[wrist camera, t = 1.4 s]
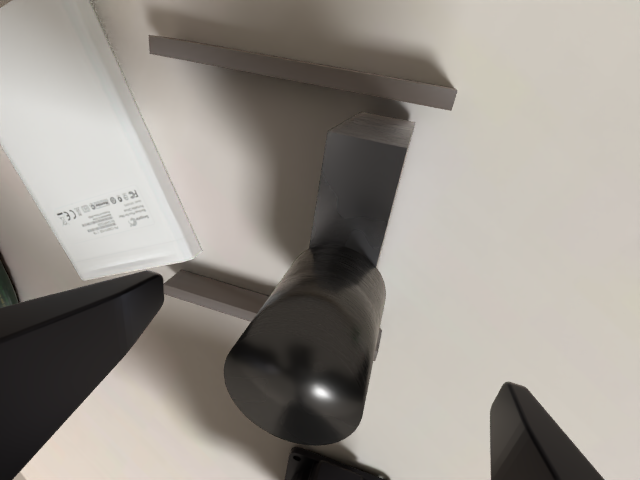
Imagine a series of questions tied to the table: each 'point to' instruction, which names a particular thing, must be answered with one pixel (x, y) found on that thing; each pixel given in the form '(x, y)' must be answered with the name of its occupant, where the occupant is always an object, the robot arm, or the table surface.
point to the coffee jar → (6, 289)
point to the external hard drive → (85, 143)
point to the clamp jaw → (326, 296)
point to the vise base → (425, 94)
